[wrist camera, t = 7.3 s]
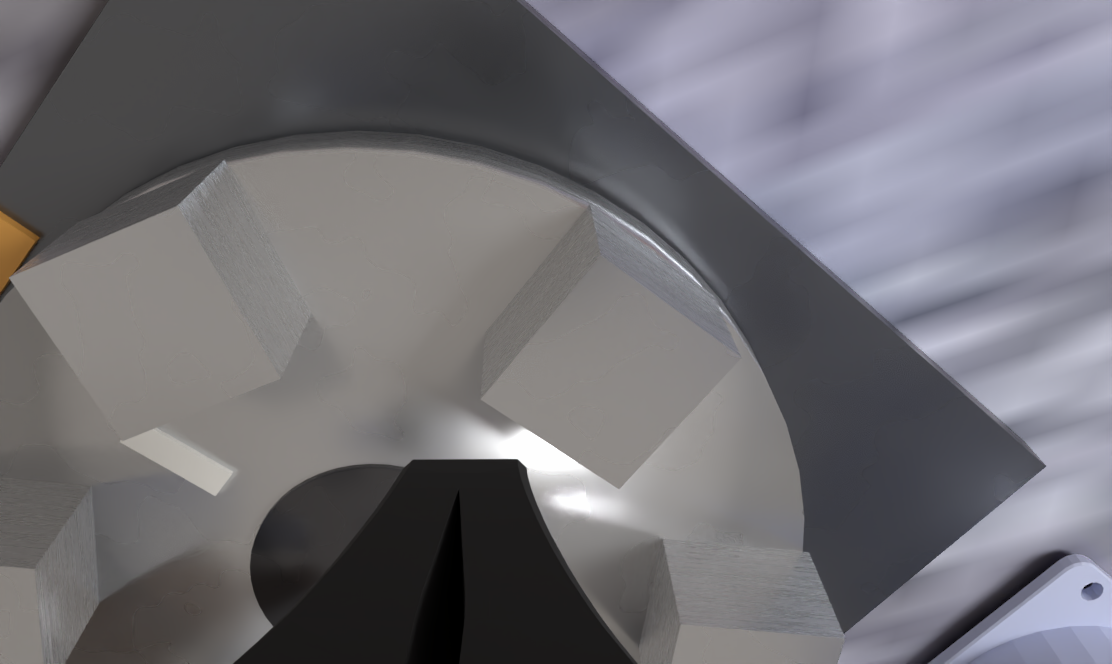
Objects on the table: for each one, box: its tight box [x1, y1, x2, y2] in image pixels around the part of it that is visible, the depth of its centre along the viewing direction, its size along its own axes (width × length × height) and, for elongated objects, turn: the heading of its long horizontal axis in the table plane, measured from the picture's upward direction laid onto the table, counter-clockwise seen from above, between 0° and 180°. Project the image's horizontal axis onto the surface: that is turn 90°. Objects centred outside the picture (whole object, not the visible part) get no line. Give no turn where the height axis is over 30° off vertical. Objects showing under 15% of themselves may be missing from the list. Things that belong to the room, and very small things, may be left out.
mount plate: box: [0, 0, 1046, 634], centre depth 22 cm, size 20×20×1 cm
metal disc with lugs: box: [0, 130, 845, 664], centre depth 20 cm, size 17×17×4 cm
